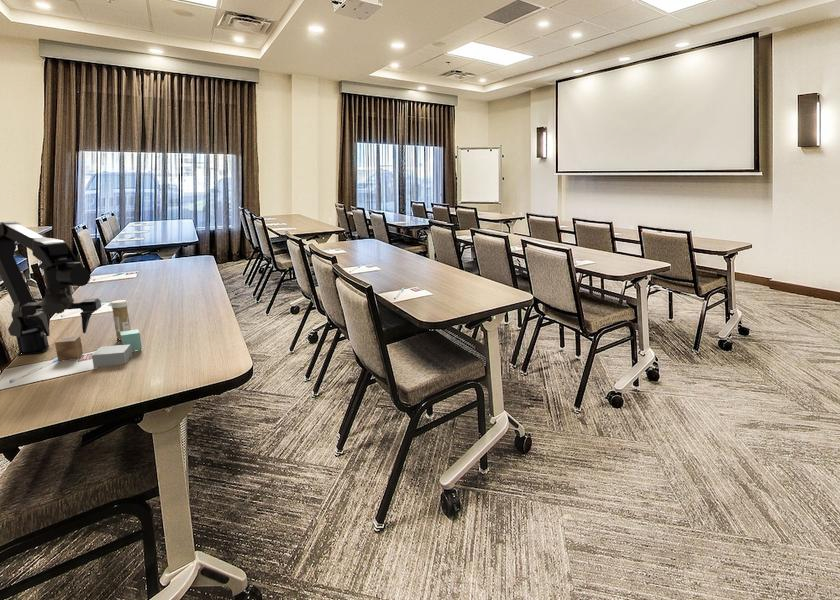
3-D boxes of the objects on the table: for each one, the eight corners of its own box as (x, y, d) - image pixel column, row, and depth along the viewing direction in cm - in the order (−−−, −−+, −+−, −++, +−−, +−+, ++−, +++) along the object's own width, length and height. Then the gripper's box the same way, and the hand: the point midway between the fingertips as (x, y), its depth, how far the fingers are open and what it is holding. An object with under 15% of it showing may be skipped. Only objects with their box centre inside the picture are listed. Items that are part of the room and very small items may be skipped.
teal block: (123, 353, 147) (121, 335, 146) (122, 349, 151) (119, 331, 150) (142, 350, 150) (139, 332, 149) (140, 346, 154) (138, 329, 153)
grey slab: (93, 368, 136) (91, 355, 135) (102, 359, 143) (100, 346, 142) (125, 365, 138) (123, 352, 137) (132, 356, 146) (130, 344, 145)
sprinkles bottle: (132, 339, 161) (127, 301, 158) (116, 341, 159) (110, 303, 156) (131, 336, 165) (126, 298, 162) (116, 338, 163) (110, 300, 160)
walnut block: (58, 361, 140) (54, 342, 139) (64, 356, 145) (60, 337, 144) (78, 359, 142) (74, 340, 141) (83, 354, 147) (80, 336, 145)
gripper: (6, 291, 128) (17, 345, 131) (87, 286, 134) (95, 339, 138) (23, 283, 138) (33, 334, 142) (97, 280, 144) (105, 328, 148)
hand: (66, 334), depth 142 cm, fingers open, 9 cm apart
